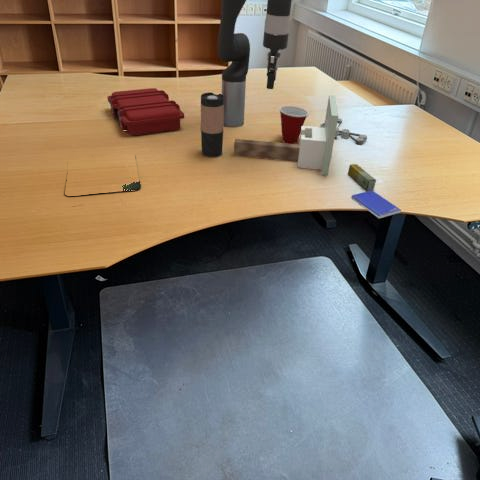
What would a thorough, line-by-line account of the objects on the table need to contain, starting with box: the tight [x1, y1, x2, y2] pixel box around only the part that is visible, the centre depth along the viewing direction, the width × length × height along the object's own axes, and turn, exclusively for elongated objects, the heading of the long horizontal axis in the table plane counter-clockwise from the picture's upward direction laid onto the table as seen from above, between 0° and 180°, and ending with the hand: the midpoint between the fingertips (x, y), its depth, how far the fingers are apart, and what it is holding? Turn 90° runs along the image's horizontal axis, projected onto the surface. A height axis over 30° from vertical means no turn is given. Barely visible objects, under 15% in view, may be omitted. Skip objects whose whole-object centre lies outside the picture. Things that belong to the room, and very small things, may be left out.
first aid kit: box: [106, 87, 185, 136], centre depth 175 cm, size 32×23×9 cm
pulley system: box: [320, 117, 368, 145], centre depth 174 cm, size 27×5×15 cm
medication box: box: [347, 163, 377, 192], centre depth 140 cm, size 12×3×4 cm, turn 19°
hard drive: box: [351, 190, 402, 219], centre depth 129 cm, size 2×8×12 cm
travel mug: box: [200, 91, 224, 158], centre depth 148 cm, size 8×8×20 cm
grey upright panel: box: [297, 94, 339, 176], centre depth 146 cm, size 10×20×20 cm, turn 173°
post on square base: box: [233, 137, 308, 163], centre depth 151 cm, size 25×7×7 cm, turn 83°
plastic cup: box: [278, 105, 310, 144], centre depth 162 cm, size 11×11×12 cm
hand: (271, 84), depth 143 cm, fingers open, 8 cm apart
